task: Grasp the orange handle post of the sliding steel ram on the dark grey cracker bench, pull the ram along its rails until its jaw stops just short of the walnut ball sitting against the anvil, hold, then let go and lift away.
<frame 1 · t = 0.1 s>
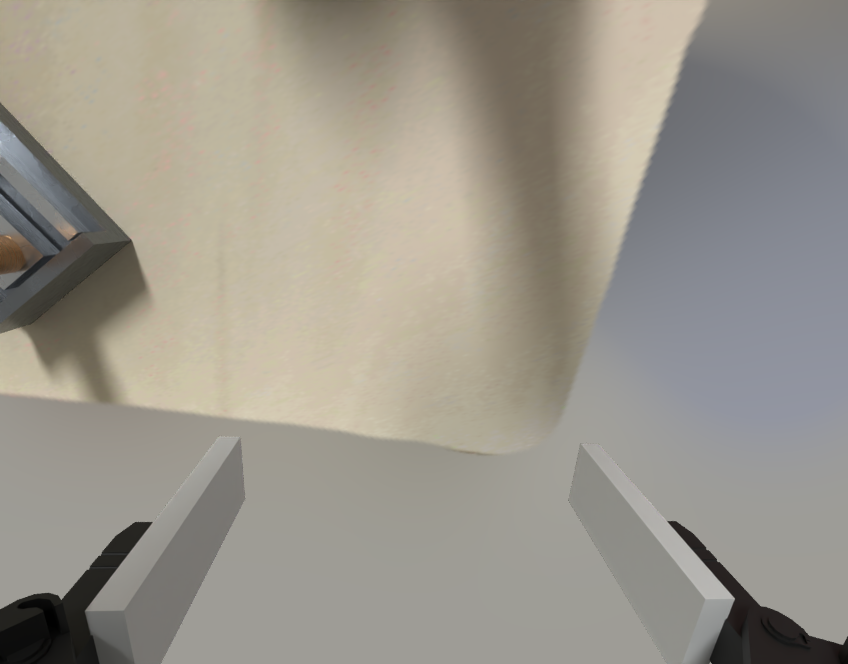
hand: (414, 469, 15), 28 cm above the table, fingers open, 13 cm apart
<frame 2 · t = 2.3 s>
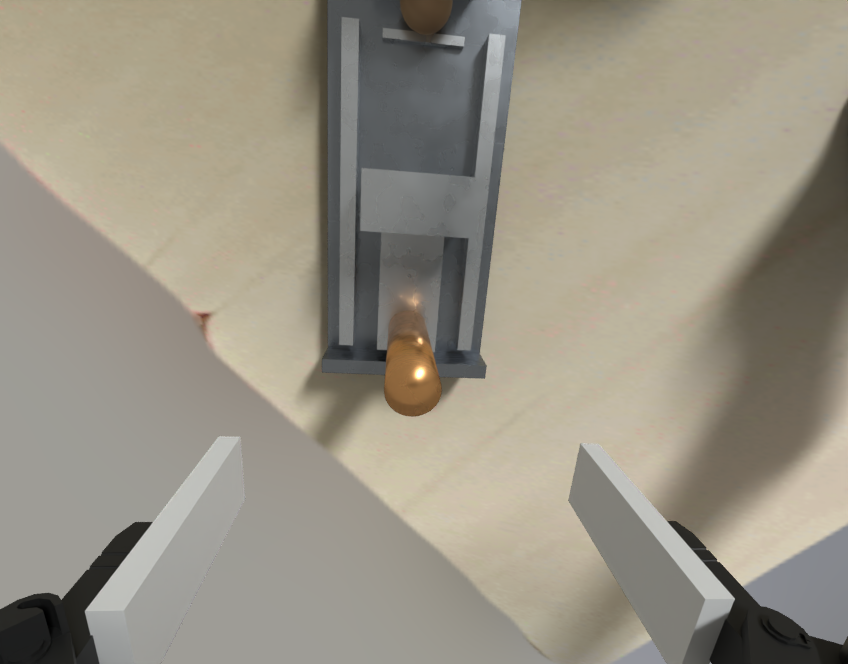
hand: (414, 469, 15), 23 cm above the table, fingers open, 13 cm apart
cracker bench: (415, 155, 33), on the table
ram handle: (413, 280, 27), point 9 cm above the table, slide at 0.0 cm
walnut: (424, 14, 29), point 2 cm above the table, touching cracker bench
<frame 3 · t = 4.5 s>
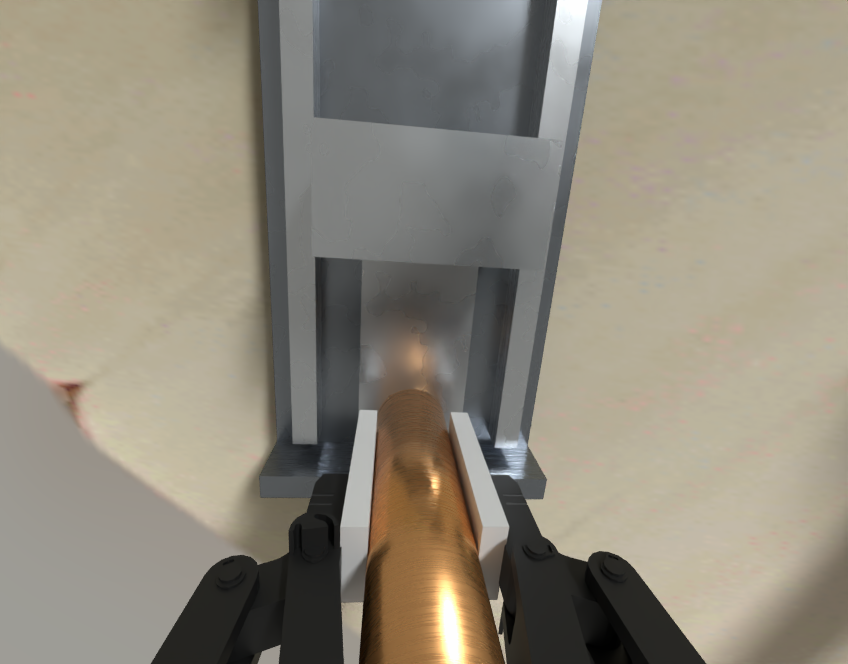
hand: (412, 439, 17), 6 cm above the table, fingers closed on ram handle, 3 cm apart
cracker bench: (424, 116, 19), on the table
ram handle: (426, 360, 13), point 9 cm above the table, slide at 0.0 cm, touching gripper
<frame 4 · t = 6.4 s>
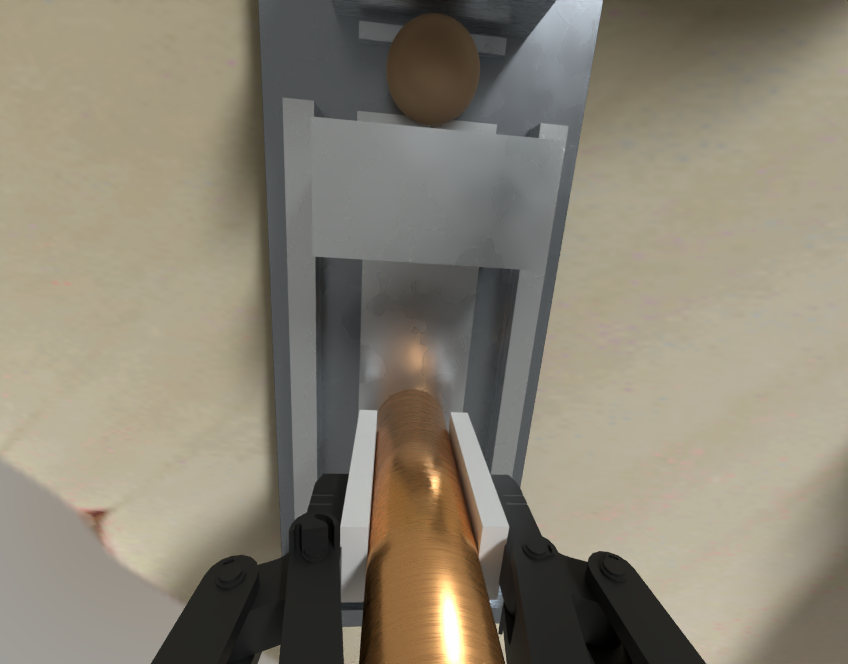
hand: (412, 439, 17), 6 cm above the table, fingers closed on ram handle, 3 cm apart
cracker bench: (413, 290, 22), on the table
ram handle: (426, 360, 13), point 9 cm above the table, slide at 8.5 cm, touching gripper
walnut: (428, 86, 17), point 2 cm above the table, touching cracker bench
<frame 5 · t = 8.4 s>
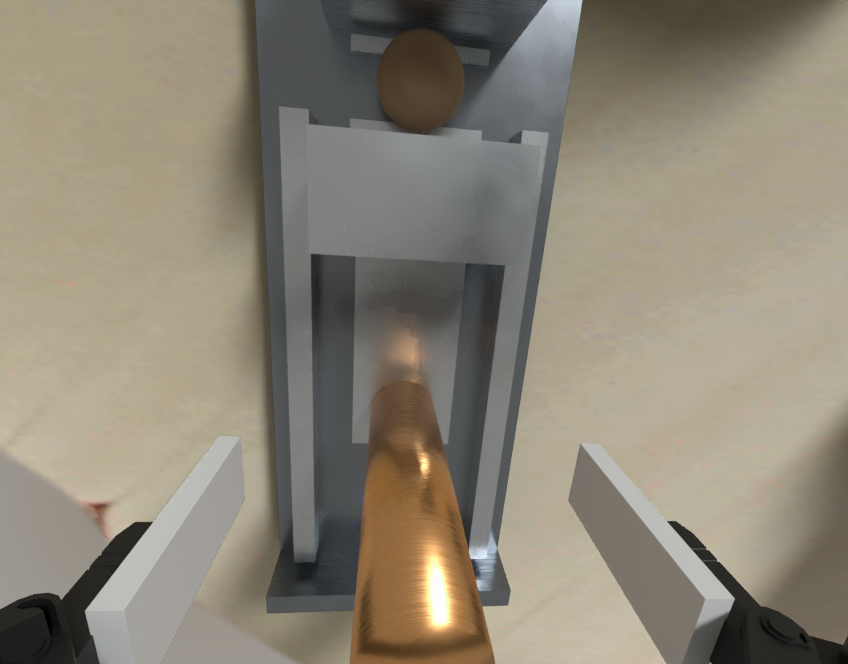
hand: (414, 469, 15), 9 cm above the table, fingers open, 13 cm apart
cracker bench: (404, 288, 23), on the table
ram handle: (415, 350, 14), point 9 cm above the table, slide at 8.6 cm
walnut: (417, 95, 18), point 2 cm above the table, touching cracker bench
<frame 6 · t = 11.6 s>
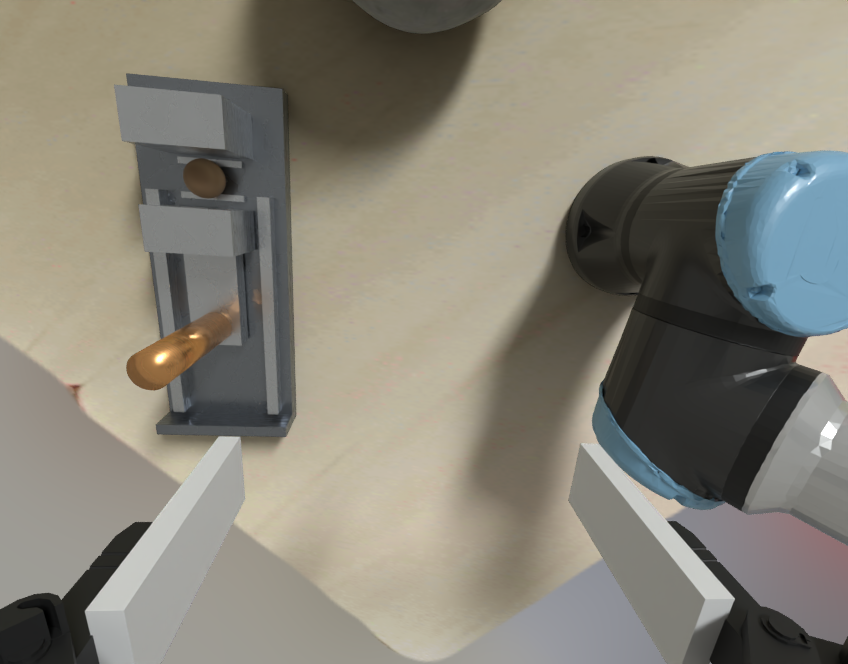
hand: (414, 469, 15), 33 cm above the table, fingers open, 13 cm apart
cracker bench: (228, 269, 44), on the table
ram handle: (187, 289, 35), point 9 cm above the table, slide at 8.6 cm
walnut: (213, 180, 40), point 2 cm above the table, touching cracker bench
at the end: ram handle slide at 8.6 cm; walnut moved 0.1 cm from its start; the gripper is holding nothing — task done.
